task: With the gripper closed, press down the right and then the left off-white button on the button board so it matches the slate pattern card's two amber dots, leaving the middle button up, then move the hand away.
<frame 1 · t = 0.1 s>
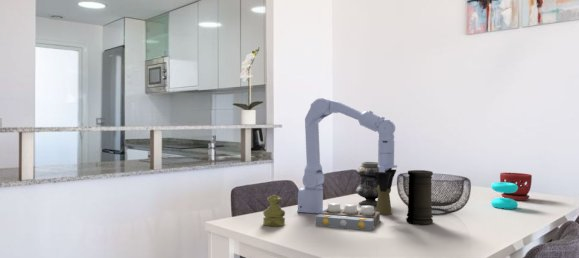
hand: (385, 190, 164), 10 cm above the table, tool pointing down, fingers open, 7 cm apart
donuts: (504, 207, 187), on the table
container: (419, 223, 157), on the table
olive green tiered piece: (274, 225, 152), on the table
apothecary jar: (370, 204, 191), on the table
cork: (383, 213, 172), on the table
button board: (350, 220, 158), on the table
middle button: (350, 210, 158), point 4 cm above the table, slide at 0.0 cm
pattern card: (344, 226, 150), on the table
left button: (334, 209, 160), point 4 cm above the table, slide at 0.0 cm
right button: (367, 211, 156), point 4 cm above the table, slide at 0.0 cm
plant pot: (515, 199, 208), on the table
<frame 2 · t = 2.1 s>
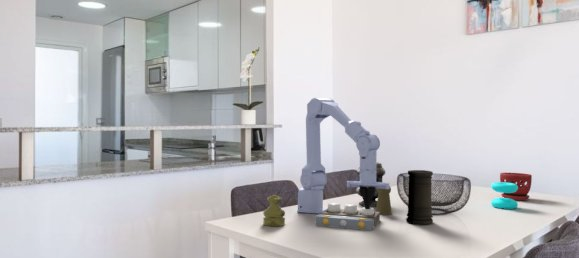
hand: (367, 208, 156), 5 cm above the table, tool pointing down, fingers closed, pressing on right button
right button: (367, 213, 156), point 3 cm above the table, slide at 0.7 cm, touching gripper
everything else where it was.
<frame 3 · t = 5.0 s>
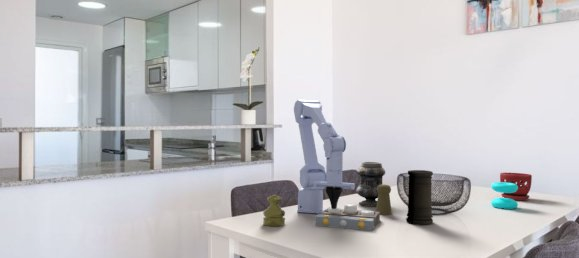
hand: (334, 208, 160), 4 cm above the table, tool pointing down, fingers closed, pressing on left button
left button: (333, 213, 160), point 2 cm above the table, slide at 1.4 cm, touching gripper
right button: (367, 216, 156), point 2 cm above the table, slide at 1.8 cm
everything else where it was.
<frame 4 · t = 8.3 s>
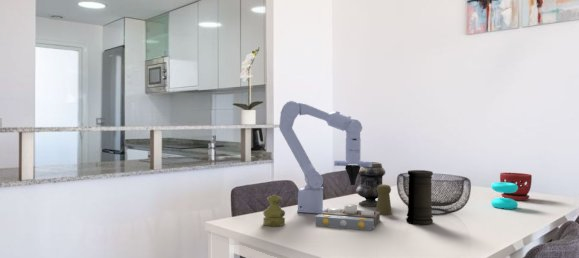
hand: (352, 184, 175), 10 cm above the table, tool pointing down, fingers closed
left button: (333, 214, 160), point 2 cm above the table, slide at 1.8 cm
everything else where it was.
at the end: right button slide at 1.8 cm; left button slide at 1.8 cm; middle button slide at 0.0 cm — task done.
